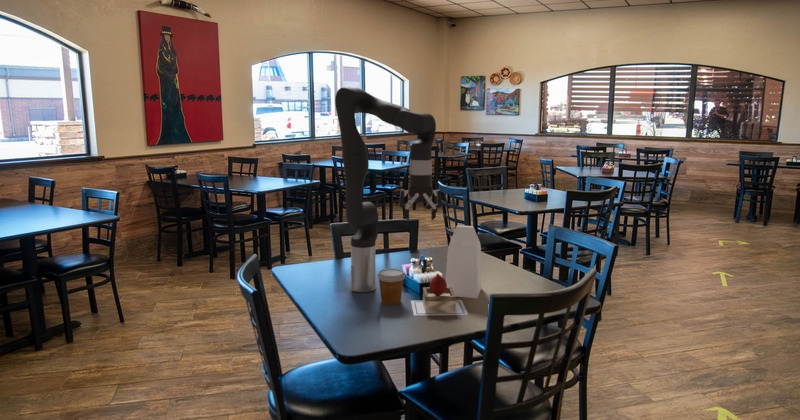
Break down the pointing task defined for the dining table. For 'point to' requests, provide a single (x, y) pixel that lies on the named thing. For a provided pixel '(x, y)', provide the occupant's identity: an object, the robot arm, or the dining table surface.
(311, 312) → the dining table surface
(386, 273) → the disposable coffee cup
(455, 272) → the milk
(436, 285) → the red round fruit
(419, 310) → the board
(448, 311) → the square wooden tray
